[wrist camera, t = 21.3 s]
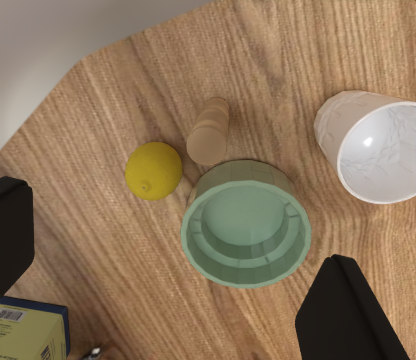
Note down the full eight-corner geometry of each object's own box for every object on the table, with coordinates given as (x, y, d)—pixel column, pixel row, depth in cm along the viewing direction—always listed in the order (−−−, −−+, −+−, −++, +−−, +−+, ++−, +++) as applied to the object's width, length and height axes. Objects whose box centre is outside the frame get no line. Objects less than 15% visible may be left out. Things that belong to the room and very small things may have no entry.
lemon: (129, 147, 34) (101, 176, 27) (170, 124, 32) (151, 147, 25) (156, 186, 36) (137, 223, 28) (196, 165, 34) (186, 199, 27)
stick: (200, 120, 32) (182, 160, 21) (206, 94, 31) (190, 122, 20) (225, 126, 32) (221, 170, 21) (232, 100, 31) (231, 132, 20)
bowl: (179, 240, 39) (170, 272, 33) (201, 145, 33) (194, 166, 28) (278, 264, 39) (285, 299, 34) (316, 173, 33) (332, 199, 28)
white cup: (291, 120, 31) (315, 153, 22) (359, 65, 29) (418, 76, 19) (335, 173, 33) (373, 222, 24) (402, 125, 31) (474, 160, 21)
